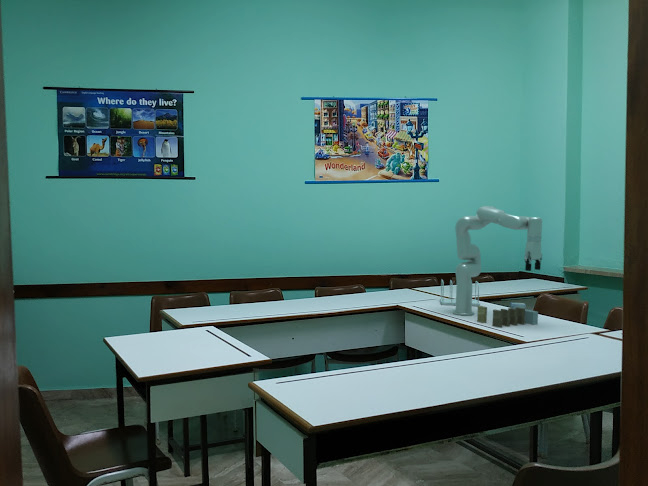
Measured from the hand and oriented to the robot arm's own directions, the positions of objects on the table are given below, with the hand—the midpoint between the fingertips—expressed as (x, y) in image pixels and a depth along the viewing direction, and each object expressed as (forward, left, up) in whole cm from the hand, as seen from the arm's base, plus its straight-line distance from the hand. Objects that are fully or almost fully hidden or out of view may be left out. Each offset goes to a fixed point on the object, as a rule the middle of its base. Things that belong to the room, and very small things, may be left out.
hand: (532, 270), depth 347 cm
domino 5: (-5, -4, -31) cm, 32 cm away
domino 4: (-2, -9, -31) cm, 33 cm away
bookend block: (-9, +2, -31) cm, 33 cm away
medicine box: (-24, +1, -32) cm, 40 cm away
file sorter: (-73, -22, -32) cm, 83 cm away
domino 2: (+4, -20, -31) cm, 37 cm away
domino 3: (+1, -15, -31) cm, 35 cm away
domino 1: (-8, -25, -31) cm, 41 cm away
